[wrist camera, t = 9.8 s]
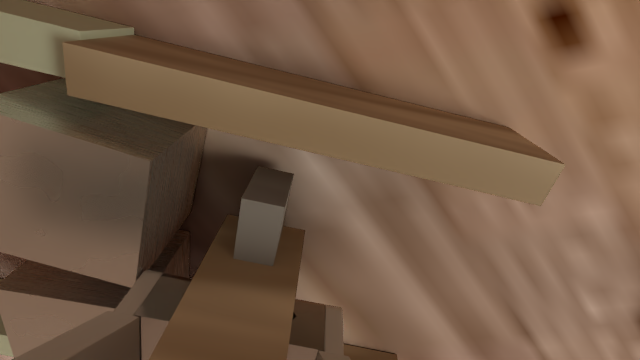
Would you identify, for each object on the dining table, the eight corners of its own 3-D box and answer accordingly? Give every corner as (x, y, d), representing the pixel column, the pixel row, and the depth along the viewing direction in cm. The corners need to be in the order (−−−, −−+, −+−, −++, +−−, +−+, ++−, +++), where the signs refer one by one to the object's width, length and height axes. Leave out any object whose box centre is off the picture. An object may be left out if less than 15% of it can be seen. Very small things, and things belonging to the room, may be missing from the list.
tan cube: (86, 72, 11) (-39, 102, 7) (209, 113, 11) (150, 161, 8) (83, 180, 13) (-19, 246, 9) (190, 212, 13) (134, 288, 9)
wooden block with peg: (233, 160, 11) (123, 319, 5) (317, 179, 11) (297, 352, 6) (215, 312, 14) (132, 520, 8) (282, 325, 14) (245, 537, 9)
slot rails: (133, 34, 10) (62, 42, 8) (509, 127, 11) (565, 164, 8) (135, 321, 16) (94, 385, 13) (388, 370, 16) (398, 441, 14)
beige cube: (86, 213, 13) (-8, 288, 10) (189, 231, 13) (135, 311, 10) (96, 290, 15) (20, 378, 11) (188, 305, 15) (142, 397, 11)
